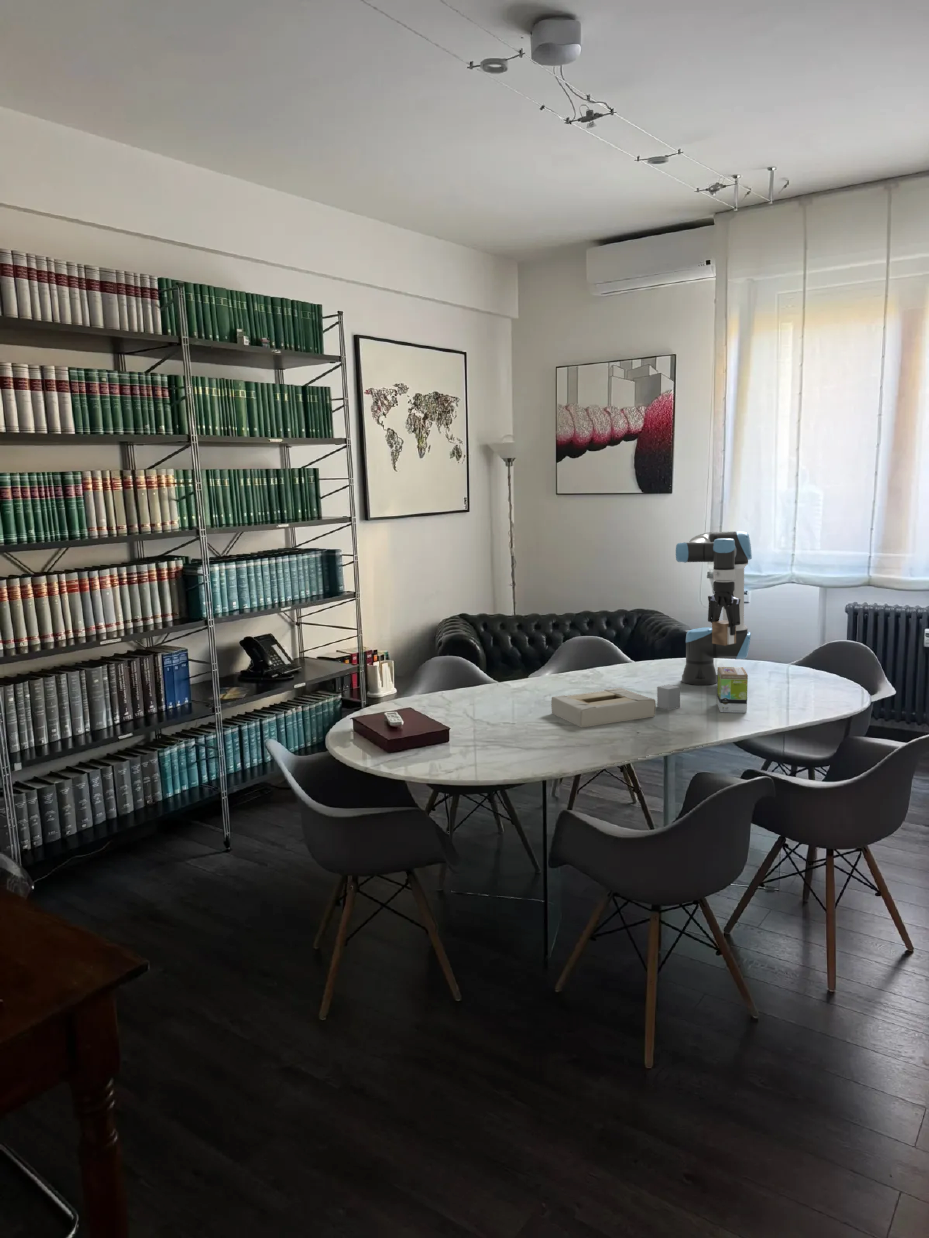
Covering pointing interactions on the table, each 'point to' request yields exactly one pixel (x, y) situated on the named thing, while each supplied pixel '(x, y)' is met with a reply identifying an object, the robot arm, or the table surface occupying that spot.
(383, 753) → the table surface
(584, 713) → the box
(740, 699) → the tea box
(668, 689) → the slate block
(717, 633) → the walnut block
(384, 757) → the table surface
